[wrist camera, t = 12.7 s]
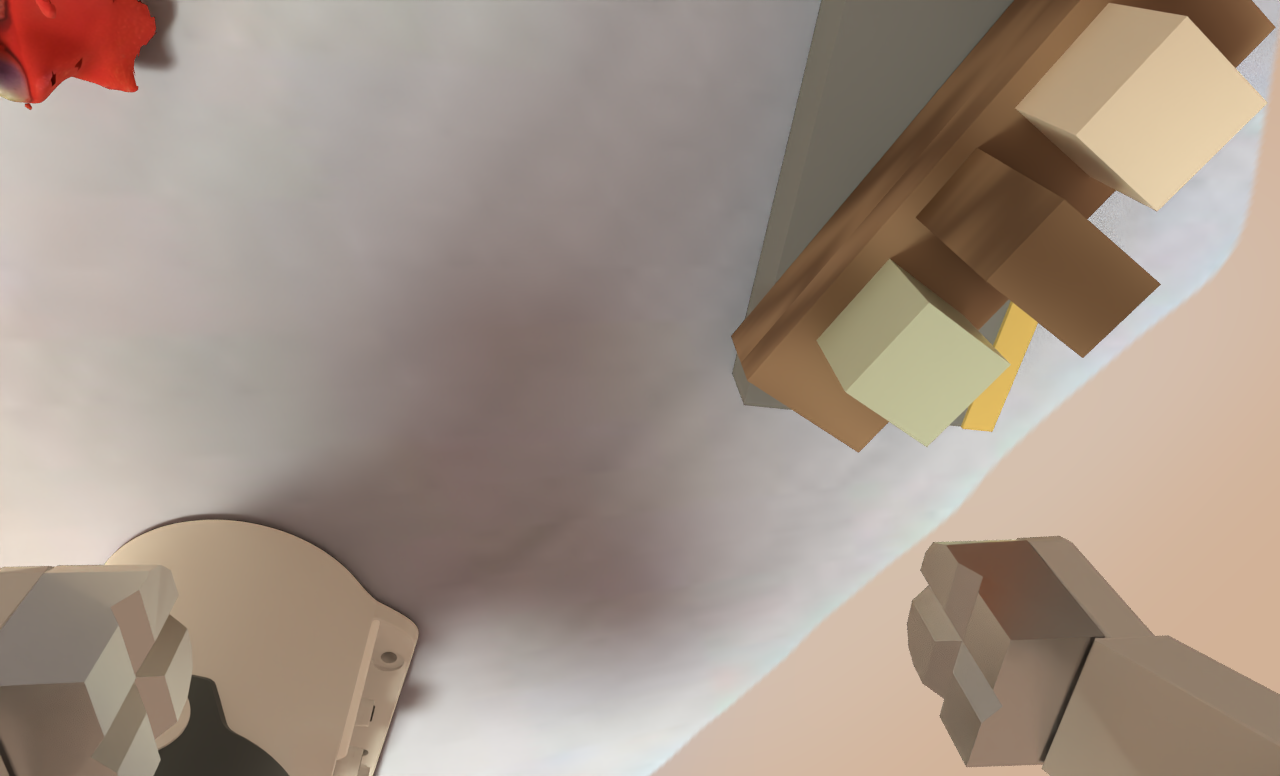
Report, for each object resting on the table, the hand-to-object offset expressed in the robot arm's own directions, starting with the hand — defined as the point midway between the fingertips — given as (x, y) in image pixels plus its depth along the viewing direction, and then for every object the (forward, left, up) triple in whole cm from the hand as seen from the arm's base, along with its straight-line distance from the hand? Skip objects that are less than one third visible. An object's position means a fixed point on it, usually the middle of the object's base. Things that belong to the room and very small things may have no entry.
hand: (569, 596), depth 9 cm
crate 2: (+4, -18, -21) cm, 28 cm away
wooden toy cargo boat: (-1, -15, -25) cm, 30 cm away
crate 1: (-5, -13, -21) cm, 26 cm away
